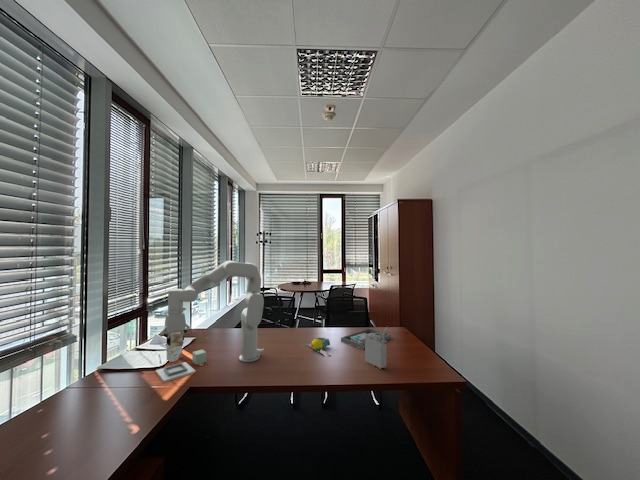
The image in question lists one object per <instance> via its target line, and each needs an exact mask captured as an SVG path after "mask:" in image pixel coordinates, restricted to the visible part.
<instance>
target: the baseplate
mask: <svg viewBox="0 0 640 480" xmlns="http://www.w3.org/2000/svg"><path fill="white" fill-rule="evenodd" d="M155 373H156V374H157V376H158V377H159V378H160V380H161V381H162V382H163V383H166V382H170V381H172V380H173V381H174V380H176V379H179V378H184V377H186V376H190V375H192V374H195V373H196V370H195V369H194V368H193V367H192V366H191V365H190V364H189V363H188V362H186V361H183V362H181V363H177V364H176V363H175V364H173V365H169V366H166V367H161V368H158V369H156V370H155ZM189 374H190V375H189Z"/></svg>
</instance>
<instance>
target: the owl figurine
mask: <svg viewBox="0 0 640 480" xmlns="http://www.w3.org/2000/svg"><path fill="white" fill-rule="evenodd" d="M330 342H331V341H330V339H329V338H326V337H316V338H315V339H313V340H312V341H311V342H310V341H307V343H304V346H307V347H308V349H310V350H312V349H313V350H314V351H316V352H317V353H319V352H320V350H321V349H323V350H324V349H325V348H326V347H328V346H329V347H330V346H331V343H330ZM318 351H319V352H318Z"/></svg>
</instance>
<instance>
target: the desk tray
mask: <svg viewBox="0 0 640 480" xmlns="http://www.w3.org/2000/svg"><path fill="white" fill-rule="evenodd" d="M376 332H379V333H382V334H383V332H384V331H380V330H377V329H373V328H370V327H368V328H364V329H362V330H359V331H357V332H354V333H351V334H348V335H345V336H342V337H340V343H343V342H344V343H343V344H346V343H347V344H346V345H348V344H351V345H354V346H356V347H355V348H357V347H360V348H362V349H365V344H364V345H363V344H360V343H357V342H354V341H351V340H350V337H351V336H355V335H358V334H363V333H366V334H370V333H373V334H374V333H376ZM375 335H381V334H375ZM382 336H383V335H382ZM391 339H392V334H390V333H387V332H385V335H384V340H386V341H388V340H391ZM351 345H350V346H351ZM354 346H353V347H354ZM360 348H359V349H360ZM362 349H361V350H362Z"/></svg>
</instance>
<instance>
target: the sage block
mask: <svg viewBox="0 0 640 480" xmlns="http://www.w3.org/2000/svg"><path fill="white" fill-rule="evenodd" d="M192 363H193V364H194V365H200V364H204V363H207V351H205V350H204V349H199V350H195V351H192Z"/></svg>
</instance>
